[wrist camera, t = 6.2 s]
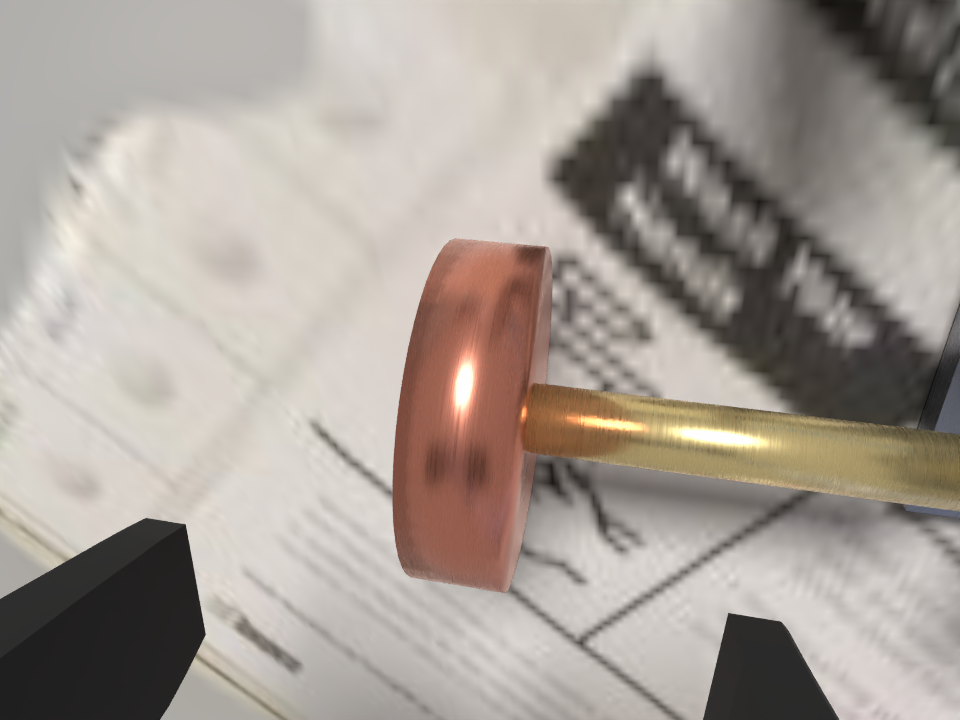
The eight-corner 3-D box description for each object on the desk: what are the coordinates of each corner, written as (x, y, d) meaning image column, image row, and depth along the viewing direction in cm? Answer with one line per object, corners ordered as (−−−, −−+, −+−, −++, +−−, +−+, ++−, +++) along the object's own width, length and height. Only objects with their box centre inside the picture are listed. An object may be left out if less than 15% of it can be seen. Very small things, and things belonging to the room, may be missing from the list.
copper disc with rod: (1033, 247, 15) (1302, 412, 9) (931, 520, 18) (1079, 783, 12) (480, 202, 17) (388, 314, 11) (472, 456, 20) (395, 656, 14)
